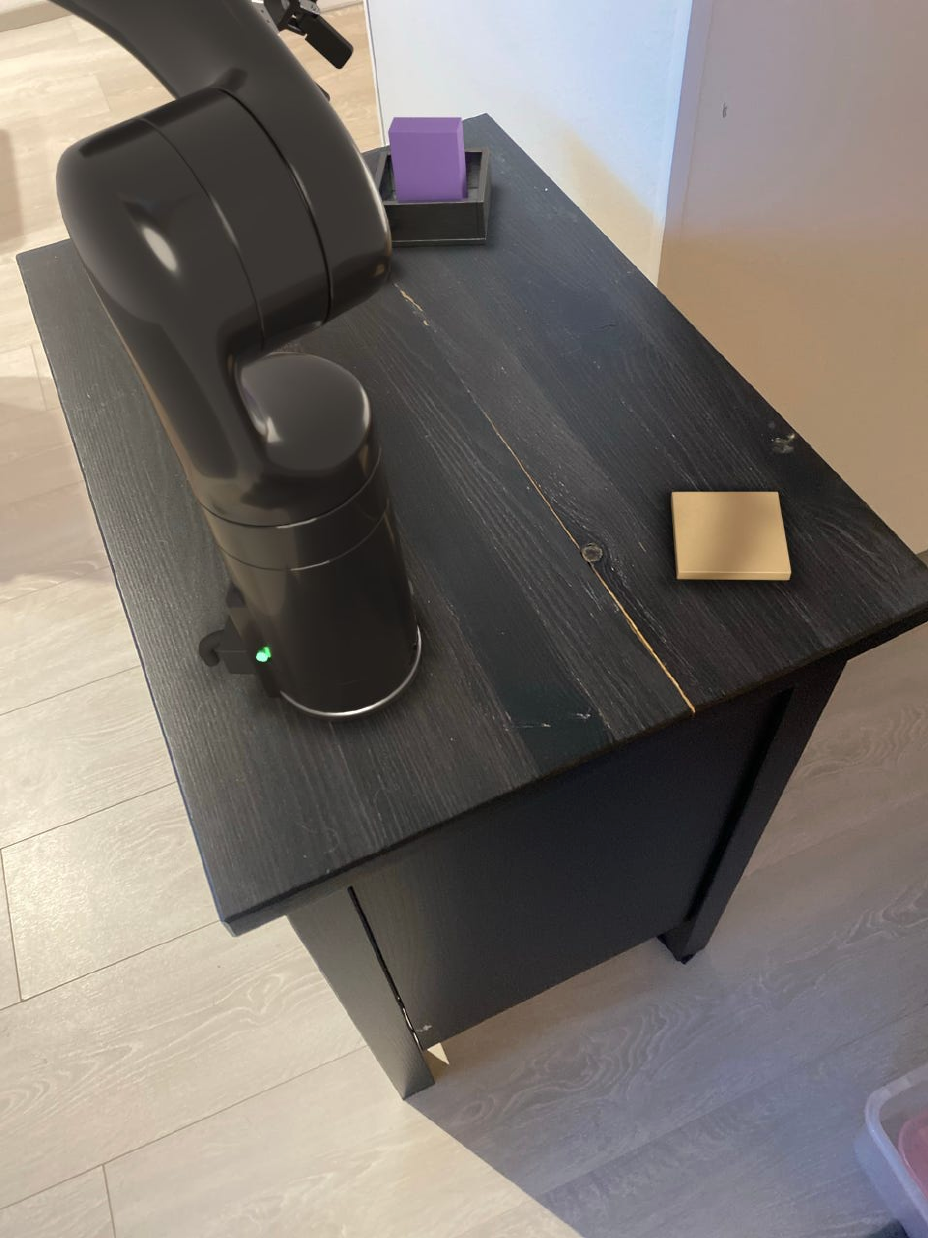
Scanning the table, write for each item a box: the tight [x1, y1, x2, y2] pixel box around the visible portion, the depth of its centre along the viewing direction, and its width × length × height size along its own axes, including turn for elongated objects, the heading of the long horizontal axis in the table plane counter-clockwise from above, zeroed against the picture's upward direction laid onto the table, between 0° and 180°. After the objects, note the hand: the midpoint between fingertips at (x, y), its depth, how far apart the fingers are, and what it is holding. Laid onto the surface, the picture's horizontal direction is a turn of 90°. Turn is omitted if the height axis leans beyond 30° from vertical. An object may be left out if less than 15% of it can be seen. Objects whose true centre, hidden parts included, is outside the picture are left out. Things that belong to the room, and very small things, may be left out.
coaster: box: [670, 491, 792, 581], centre depth 62 cm, size 7×7×1 cm
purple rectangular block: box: [387, 116, 468, 201], centre depth 84 cm, size 2×6×8 cm, turn 81°
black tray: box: [374, 147, 492, 248], centre depth 86 cm, size 10×9×4 cm
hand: (336, 83), depth 79 cm, fingers open, 8 cm apart
